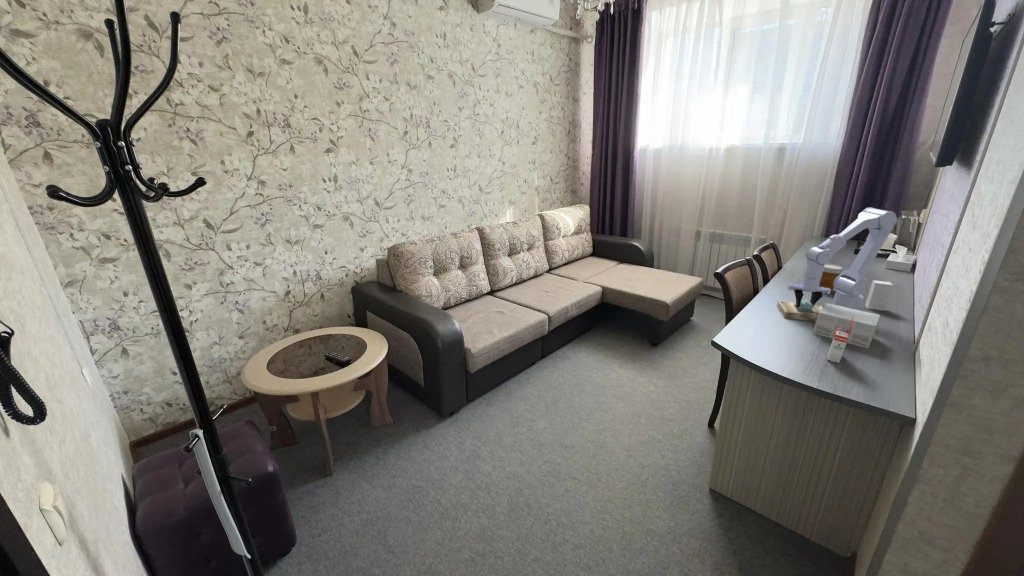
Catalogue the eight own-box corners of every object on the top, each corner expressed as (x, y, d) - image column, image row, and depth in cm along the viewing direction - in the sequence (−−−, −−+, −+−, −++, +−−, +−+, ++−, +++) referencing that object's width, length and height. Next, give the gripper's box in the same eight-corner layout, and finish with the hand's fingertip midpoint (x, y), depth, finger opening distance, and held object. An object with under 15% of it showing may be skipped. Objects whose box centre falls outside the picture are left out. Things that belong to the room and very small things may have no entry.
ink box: (826, 360, 139) (838, 321, 134) (828, 351, 145) (840, 313, 140) (839, 363, 137) (853, 324, 132) (841, 354, 143) (854, 316, 138)
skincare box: (881, 307, 181) (890, 282, 176) (884, 311, 177) (894, 285, 173) (864, 305, 183) (872, 279, 179) (867, 308, 179) (875, 283, 175)
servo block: (804, 307, 177) (807, 297, 175) (811, 315, 169) (814, 305, 167) (794, 306, 178) (796, 295, 176) (800, 314, 170) (803, 303, 168)
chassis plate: (819, 311, 177) (820, 305, 176) (829, 323, 166) (831, 316, 165) (776, 306, 181) (778, 300, 180) (783, 317, 171) (785, 311, 170)
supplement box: (873, 337, 155) (881, 314, 152) (868, 349, 147) (876, 325, 143) (819, 323, 166) (825, 301, 163) (811, 333, 158) (818, 311, 154)
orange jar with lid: (815, 291, 198) (822, 267, 194) (810, 285, 206) (816, 262, 202) (839, 294, 195) (846, 270, 191) (833, 287, 203) (840, 264, 199)
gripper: (829, 275, 169) (820, 306, 174) (789, 271, 173) (781, 301, 178) (836, 281, 163) (826, 312, 168) (794, 277, 167) (785, 307, 172)
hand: (803, 307), depth 173 cm, fingers closed on servo block, 4 cm apart
